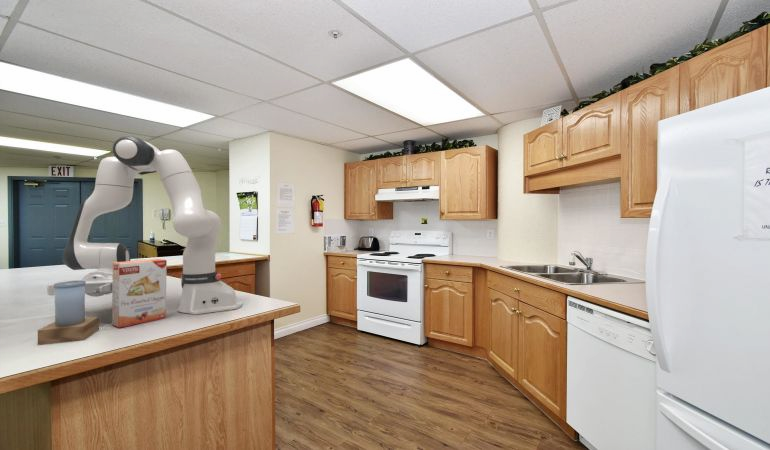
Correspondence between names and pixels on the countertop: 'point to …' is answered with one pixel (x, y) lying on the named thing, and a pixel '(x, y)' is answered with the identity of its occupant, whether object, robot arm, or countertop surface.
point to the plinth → (68, 332)
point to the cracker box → (138, 291)
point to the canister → (69, 303)
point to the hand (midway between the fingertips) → (79, 290)
